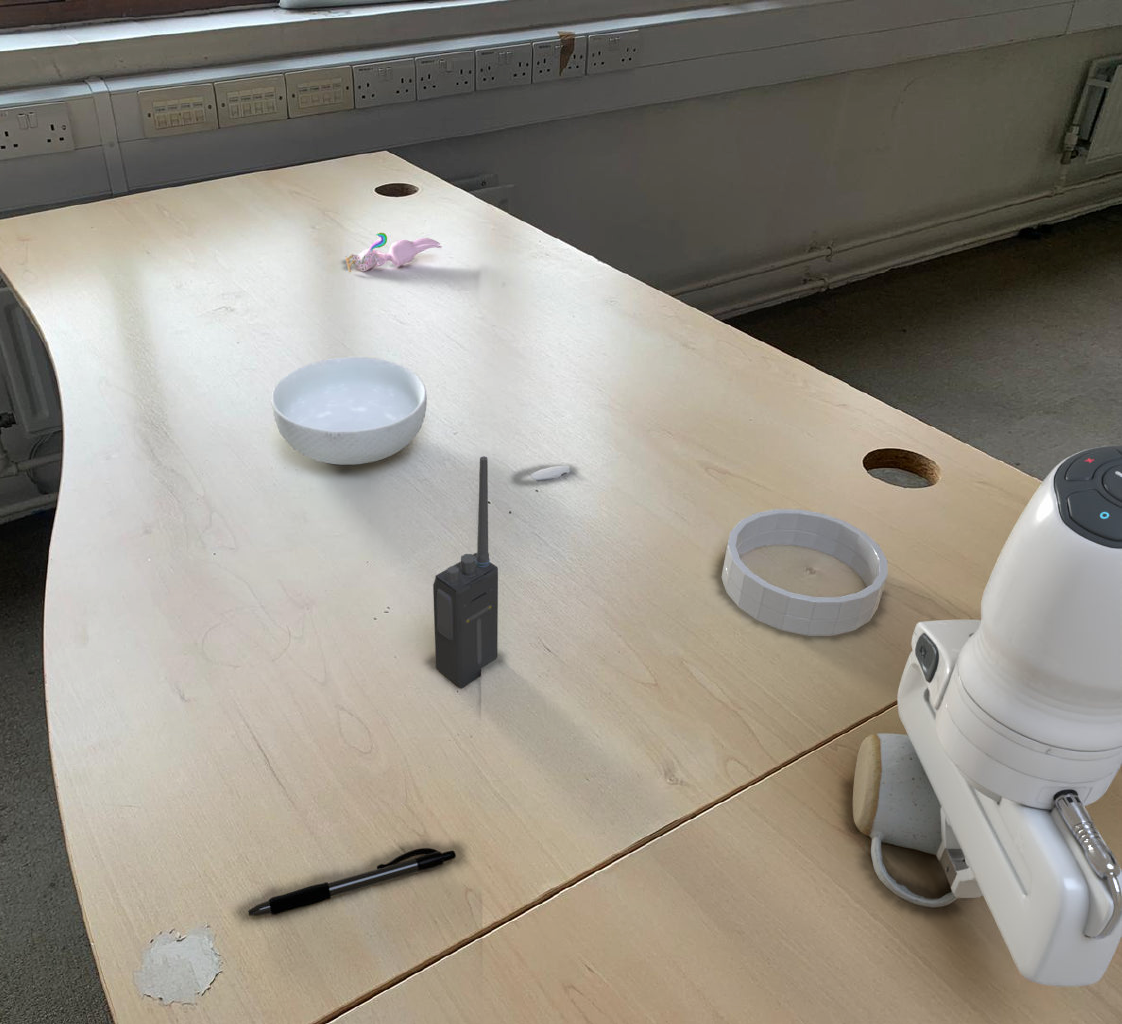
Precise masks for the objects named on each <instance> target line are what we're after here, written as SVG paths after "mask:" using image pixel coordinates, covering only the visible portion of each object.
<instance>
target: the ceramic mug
mask: <svg viewBox="0 0 1122 1024" xmlns="http://www.w3.org/2000/svg"><path fill="white" fill-rule="evenodd" d="M941 807H942V806H941V804H940V802H939V800H938V798H937V796H936V794H935V791H934V789H933V787H932V785H931V783H930V781H929V779H928V777H927V774H926V772H925V770H924V768H923V766H922V764H921V762H920V759H919V757H918V755H917V753H916V751H915V749H914V747H913V745H912V742H911V740H910V738H909V736H908V734H902V733H893V732H892V733H891V732H888V733H887V732H885V733H884V732H883V733H882V732H881V733H880V732H879V733H871V734H868V735H867V736H866V737H865V738H864V739H863V740H862V742H861V744H860V746H859V750H858V753H857V757H856V762H855V769H854V777H853V787H852V816H853V822H854V824H855V826H856V828H857V829H858V830H859V832H860V833H861V834H862V835H865V836H867V837H870V838H871V847H870V856H871V860H872V865H873V870H874V872H875V874H876V876H877V878H878V879H879V881H880V882H881V883H882V884H883V885H884V886H885V887H886V889H888V890H889V891H891V892H892V893H893V894H894V895H895V896H897V897H899V898H901V899H902V900H905V901H907V902H909V903H912V904H915V905H918V906H921V907H925V908H943V907H945V906H947V905H950V904H952V903H953V902H955V901H956V900H957V899H958V898H957V897H955V896H954V894H953V892H952V890H951V891H950V892H949V893H946V894H944V895H943V896H941V897H939V898H927V897H926V896H922V895H918V894H916V893H914V892H912V891H911V890H910V889H909V888H908V887H906V886H905V885H904V884H899V883H897V881H896V879H894V878H892V877H891V876H890V874H889V873H888V871H887V868H886V866H885V864H884V862H883V853H882V843H885V844H889V845H893V846H897V847H900V848H901V847H902V848H907V849H912V850H917V851H920V852H923V853H926V854H930V855H933V856H936V857H937V855H936V854H937V851H938V849H939V847H940V845H941V842H942V839H941Z"/></svg>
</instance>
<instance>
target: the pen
mask: <svg viewBox="0 0 1122 1024" xmlns="http://www.w3.org/2000/svg"><path fill="white" fill-rule="evenodd" d="M416 856H417V857H416ZM456 856H457V855H456V851H455V850H448V851H444V852H442V851H439V850H437V849H435V848H431V847H421V848H416V849H413V850H410V851H407V852H405V853H403V854H400V855H399V856H398V855H397V857H395V858H393V859H391V860H390V861H389V862H387V863H380V864H378V865H377V866H376V869H373V870H368V871H366V872H362V873H358V874H354V875H351V876H348V877H345V878H341V879H337V880H335V881H334V880H333V881H330V882H328V881H325V882H322V883H318V884H313V885H310V886H306V887H303V888H300V889H297V890H294V891H290V892H287V893H284V894H280V895H276V896H273V897H271V898H270V899H268V900H266V901H264V902H261V903H258V904H256V905H255V906H253V907H252V908H250V909H248V916H249V917H262V916H263V917H264V916H267V915H268V916H269V915H275V916H276V915H279V914H283V913H285V912H289V911H294V910H296V909H300V908H304V907H309V906H313V905H316V904H320V903H321V902H324V901H327V900H331V898H333V897H338V896H340V895H343V894H347V893H350V892H353V891H357V890H361V889H365V888H367V887H371V886H374V885H378V884H381V883H385V882H388V881H392V880H395V879H398V878H402V877H405V876H409V875H413V874H416V873H421V872H426V871H429V870H432V869H436V868H439V867H442V866H443V865H444V864H445V863H446V862H449V861H452V860H455V859H456V858H457V857H456Z"/></svg>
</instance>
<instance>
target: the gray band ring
mask: <svg viewBox="0 0 1122 1024" xmlns="http://www.w3.org/2000/svg"><path fill="white" fill-rule="evenodd" d="M767 546H796V547H801V548H806V549H812V550H815V551H818V552H820V553H823V554H826V555H829V556H832V557H834V558H835V559H837V560H838V561H840V562H842V563H843V564H845V565H847V566H849V567H850V568H851V569H852V570H853V571H854V572H855V573H856V574H857V575H858V576H859V577H860V578H861V579H862V581H863V583H864V584H865V588H863V589H862V590H860V591H858V592H854V593H850V594H846V595H840V596H812V595H807V594H802V593H797V592H792V591H789V590H787V589H784V588H781V587H779V586H776V585H774V584H772V583H770V582H768V581H767V580H764V579H763V578H761V577H760V576H759V575H757V574H756V573H754V572H753V571H751V569H749V567H748V566H747V565H746V564H745V562H743V560H742V559H741V558H740V557H741V556H742V555H744V554H746V553H748V552H750V551H752V550H754V549H758V548H763V547H767ZM725 550H726V551H725V555H724V562H723V566H722V572H721V580H722V583H723V586H724V590H725V592H726V594H727V595H728V596H729V598H730V599H731V600H732V601H733V602H734V604H735V605H736V606H737V607H738V608H739V609H741V611H743V612H744V613H746V614H748V615H749V616H751V617H752V618H753V619H754V620H756V621H758V622H761V623H763V624H765V625H768V626H769V627H773V628H775V629H776V630H780V631H784V632H788V633H793V634H797V635H803V636H815V637H817V636H822V637H826V636H827V637H829V636H831V637H832V636H837V635H840V634H847V633H850V632H854V631H856V630H857V629H859V628H861V627H863V626H864V625H866V624H868V623H869V622H870V621H871V620H872V618H873V616H874V615H875V613H876V611H877V610H878V608H879V605H880V601H881V598H882V595H883V592H884V589H885V586H886V583H887V580H888V576H889V562H888V558H887V556H886V555H885V553H884V551H883V550H882V548H881V546H880V544H878V542H876V541H875V540H874V539H873V538H872V537H871V536H870V535H869V534H868V533H867V532H865V531H863V530H861V529H860V528H858V527H856V526H855V525H853V524H851V523H849V522H847V521H845V520H843V519H841V518H838V517H834V516H831V515H828V514H826V513H822V512H818V511H812V510H806V509H800V508H775V509H769V510H764V511H758V512H755V513H752V514H751V515H749V516H747V517H744V518H742V519H741V520H739V521H738V522H737V524H736V525H735V526H734V527H733V528H732V529H731V530H730V532H729V536H728V541H727V546H726V549H725Z"/></svg>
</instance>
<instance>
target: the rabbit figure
mask: <svg viewBox="0 0 1122 1024" xmlns="http://www.w3.org/2000/svg"><path fill="white" fill-rule="evenodd" d="M375 236H378V237H379V238H378V239H377V240H375V241H373V242H372V243H371V245H370V247H368V248H367V249H364V250H362V251H361V252H360V253H359V254H353V253H352V254H351V255H350V256H349V257H347V255H345V256H344V257H345V262H346V265H347V270H348V273H349V274H351V273H352V268H351V266H352V265H355V267H356V269H357V270H358V271H359V272H363V273H364V272H367V271H369V270H370V269H373V267H374V268H375V266H377V267H380V266H382V265H384V264H385V263H387V261H391V264H392V265H394V266H396V268H399V267H401V266H403V265H405V264H407V263H411V262H412V261H413V260H414V258H415V256H417V255H418V254H420V253H422V252H424V251H426V250H429V249H432V248H437V249H442V245H441V242H439V241H437V240H435V239H433V238H429V237H421V238H417V239H414V240H411V241H410V240H408V239H399V240H396V241H394V242H393V243H391V245H390V247H389V251H388V252H386V253H385V252H383V251H381V250H377V248H382V247H384V246H385V245H386V244H387V242H388V236H387V234H386V233H384V232H378V233H376V234H375ZM351 259H353V260H352V261H351V262H350V260H351Z"/></svg>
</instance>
